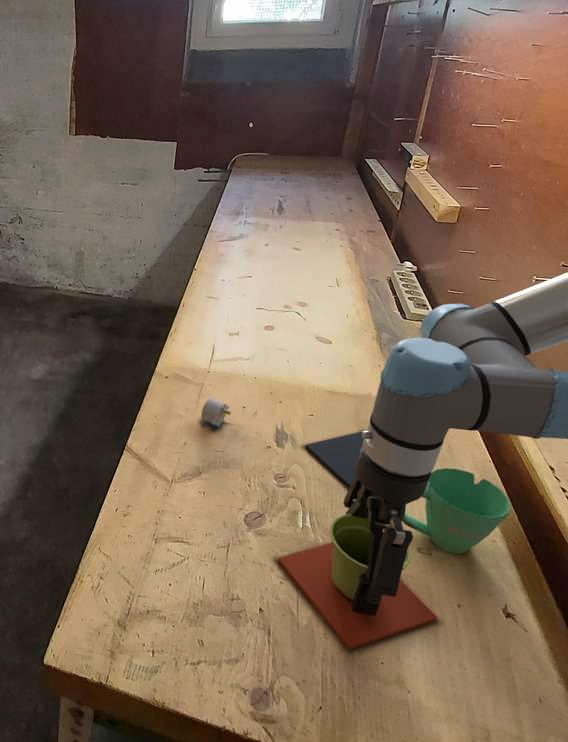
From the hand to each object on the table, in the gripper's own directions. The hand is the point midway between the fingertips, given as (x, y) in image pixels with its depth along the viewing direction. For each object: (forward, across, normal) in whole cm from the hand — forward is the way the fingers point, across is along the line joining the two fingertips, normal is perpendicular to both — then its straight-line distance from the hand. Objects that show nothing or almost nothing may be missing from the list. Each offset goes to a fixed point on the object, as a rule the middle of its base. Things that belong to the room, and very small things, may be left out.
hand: (354, 582), depth 79 cm
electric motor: (+1, -34, -17) cm, 38 cm away
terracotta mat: (+1, 0, 0) cm, 1 cm away
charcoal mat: (+1, -28, +8) cm, 29 cm away
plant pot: (0, 0, 0) cm, 0 cm away
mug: (+1, -12, +14) cm, 19 cm away
